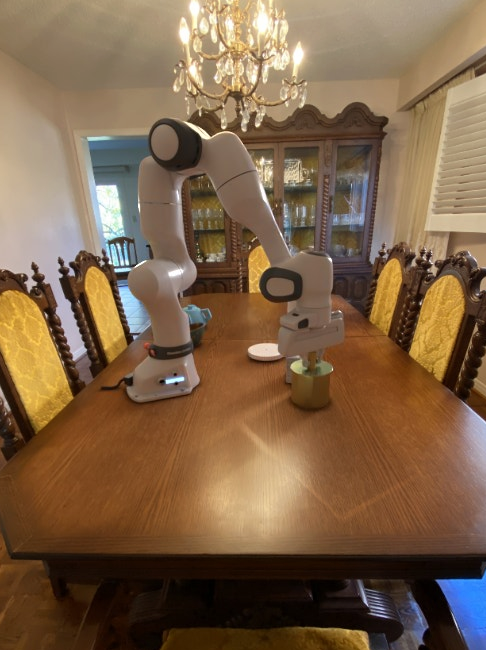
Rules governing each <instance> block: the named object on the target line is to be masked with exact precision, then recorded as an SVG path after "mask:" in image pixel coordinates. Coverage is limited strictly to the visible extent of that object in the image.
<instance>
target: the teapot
mask: <svg viewBox="0 0 486 650" xmlns="http://www.w3.org/2000/svg"><path fill="white" fill-rule="evenodd" d="M186 306H187V307H186ZM186 306H185V307H183V308H182V310H184V311H185V312H186V313H187V314H188V317H189V324H194V323H204V327H205V326H206V325H207V323H208V322H209V321H210V320H211V319H212V318H213V315H212V313H211V311H210V309H209V307H207V308H202V309H201V308H200V307H198V306H196V304H187V305H186ZM204 313H205V314H206V315H205V314H204Z"/></svg>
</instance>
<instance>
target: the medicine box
mask: <svg viewBox="0 0 486 650" xmlns="http://www.w3.org/2000/svg"><path fill="white" fill-rule="evenodd" d="M285 358H286V357H285ZM298 360H302V359H301V358H300V356H299V355H297V356H293V357H289V358H286V359H285V361H286V362H285V382H286V384H291V379H292V371H291V364H292V363H293V362H295V361H298Z"/></svg>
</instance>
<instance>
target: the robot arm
mask: <svg viewBox="0 0 486 650" xmlns="http://www.w3.org/2000/svg"><path fill="white" fill-rule="evenodd" d="M147 146H148V150H149V153H150V155H149V156H146V157H144V158H143V159H142V160H141V161H140V163H139V167H138V176H137V177H138V179H137V198H138V199H137V200H138V213H139V223H140V224H139V225H140V232H141V236H142V237H143V238H144V239H145V240H146V241H147V242H148V244H149V246H150V249H151V251H152V255H153V258H152V259H148V260H143V261H142V262H140V263H138V264H137V265H136V266H134V267H133V268H131V270H130V271H129V272H128V275H127V286H128V289H129V292H130V293H131V295H132V296H133V297H134V298H135V299H136V300H138V301H139V302H140V303H141V304H142V305H143V307H144V308H145V311H146V313H147V315H148V317H149V321H150V326H151V334H152V333H153V336H152V338H153V339H152V340H153V342H152V343H151V344H150V343H149V342H145V343H144V344H143V349H144V350H145V351H146V352H147V353H148V356H147V357H145V359H144V360H143V361H141V363H139V364H138V365H137V366H136V367H135V368H134V370H133V372H130V373H128V374H125V375H124V376H123V377H122V378H121V379H119V381H118V382H117V383H116V385H112V386H109V385H107V386H106V385H102V386H100V389H101V390H115V389H117V388H119V387H121V385H122V383H123V382H124V385H125V386H126V394H127V396H128V397H129V398H130V399H131V400H132V401H134V402H136V403H147V402H152V401H153V402H154V401H158V400H164V399H169V398H173V397H180V396H185V395H189V394H191V393H192V391H193V389H194V388H196V387H197V386H198V385H199V384H200V382H201V378H200V376H199V373H198V371H197V368H196V364H195V360H194V352H195V351H194V348H193V343H192V339H191V338H190V327H189V317H188V314H187V313H186V312H185V311H184V310H182V309H183V308H182V306H181V303H180V302H179V296H178V295H179V294H180V293H182V292H184V291H186V290H187V289H189V288H190V287H191V286H192V285H193V284H194V283H195V281H196V279H197V275H198V271H197V267H196V265H195V263H194V261H193V260H192V259H191V257H190V255H189V252H188V247H187V244H186V241H185V233H184V222H183V203H182V202H183V200H182V186H183V183H184V182H185V180H187V181H193V180H195V179H198V178H200V177H204V176H207V177H208V179H209V180H210V182H211V184H212V187H213V188H214V191H215V193H216V196H217V198H218V200H219V202H220V204H221V206H222V208H223V209H224V211H225V212H226V213H227V215H228V216H229V218H230V219H231V220H233V221H235V222H237V223H239V224H240V225H242V226H244V227H245V228H246V229H248V230H250V231H251V232H252V233H253V234H254V235H255V237H256V238H257V240H258V241H259V244H260V246H261V248H262V250H263V252H264V253H265V256H266V258H267V260H268V262H269V267H267V268H266V269H265V270H263V272H262V273H261V275H260V277H259V281H258V288H259V291H260V293H261V295H262V296H263V298H264V299H265V300H267V301H268V302H269V303H273V304H283V303H288V302H290V301H296V302H297V304H296V308H294V309H293V310H292V311H290V312H288V311H287V313H285V314H283V315H282V316H280V317H279V324H280V325H281V327H280V328H279V330H278V335H277V344H278V352H279V353H280V354H281V355H282V356H284V358H289V357H293V356H297V355H299V356H300V358H301V359H302V366H303V367H305V368H306V367H309V366H310V362H311V361H310V360H308V359H307V357H308V352H312V351H317V357H316V364H319V363H321V360H322V359H323V356H324V354H325V353H326V348H330V347H333V346H338V345H341V344H343V342H344V341H345V323H344V322H345V321H344V313H343V312H342V311H340V310H334V311H332V306H333V304H332V297H331V294H332V291H333V288H334V264H333V260H332V257H331V256H330V255H329V254H328V253H327V252H326V251H325V252H324V251H321V250H317V249H309V248H307V249H302V250H300V252H299V253H297V254H296V255H294V254H293V253H292V252H291V250H290V248H289V246H288V244H287V241H286V239H285V237H284V235H283V233H282V231H281V229H280V227H279V225H278V223H277V220H276V218H275V217H274V213H273V210H272V207H271V205H270V202H269V200H268V196H267V193H266V190H265V187H264V184H263V182H262V178H261V176H260V175H259V171H258V170H257V168H256V165H255V162H254V161H253V159H252V157H251V155H250V153H249V152H248V150H247V148H246V146H245V145H244V144H243V142H242V140H241V139H240V138H239V136H238V135H237V134H236V133H234V132H231V131H222V132H218V133H216V134H214V135H211V133H210V132H209V131H207V130H205V129H202V128H201V127H200V126H198V125H196V124H194V123H191V122H187V121H183V120H182V119H180V118H176V117H164V118H160V119H158V120H157V121H155V122H154V123H153V124H152V126H151V128H150V130H149V132H148V137H147Z"/></svg>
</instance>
